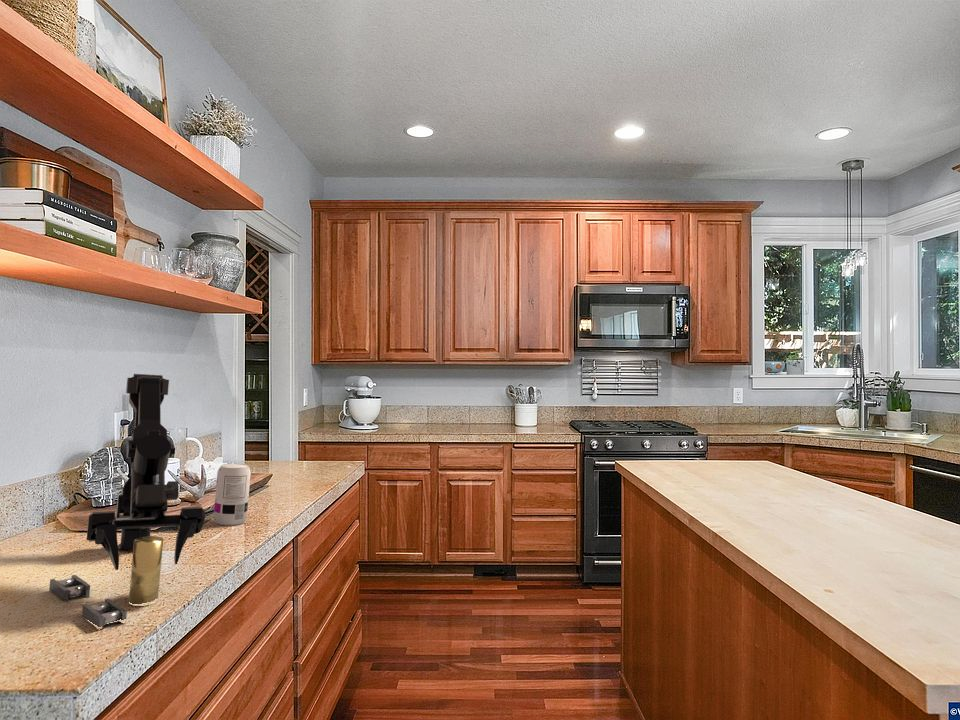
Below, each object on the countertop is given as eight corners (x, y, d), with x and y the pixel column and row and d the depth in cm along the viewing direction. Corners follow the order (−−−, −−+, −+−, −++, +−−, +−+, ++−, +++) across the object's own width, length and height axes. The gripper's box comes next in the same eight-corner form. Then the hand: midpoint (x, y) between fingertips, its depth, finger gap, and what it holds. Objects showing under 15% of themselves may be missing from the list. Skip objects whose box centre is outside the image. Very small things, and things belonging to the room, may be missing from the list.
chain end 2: (81, 616, 101) (82, 604, 101) (107, 610, 104) (109, 598, 104) (98, 630, 96) (99, 617, 96) (125, 623, 100) (126, 611, 100)
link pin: (133, 596, 110) (138, 535, 110) (161, 596, 111) (166, 536, 111) (124, 606, 106) (130, 543, 106) (153, 606, 107) (158, 543, 107)
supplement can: (206, 523, 159) (211, 466, 159) (226, 516, 167) (231, 461, 167) (233, 527, 157) (238, 469, 157) (252, 520, 165) (257, 465, 165)
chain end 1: (49, 590, 110) (50, 579, 110) (74, 585, 113) (75, 574, 113) (63, 602, 105) (64, 590, 105) (89, 596, 109) (90, 585, 109)
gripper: (93, 466, 107) (87, 547, 98) (207, 464, 117) (212, 538, 108) (89, 501, 114) (83, 580, 104) (198, 496, 124) (201, 568, 114)
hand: (147, 565), depth 107 cm, fingers open, 9 cm apart
